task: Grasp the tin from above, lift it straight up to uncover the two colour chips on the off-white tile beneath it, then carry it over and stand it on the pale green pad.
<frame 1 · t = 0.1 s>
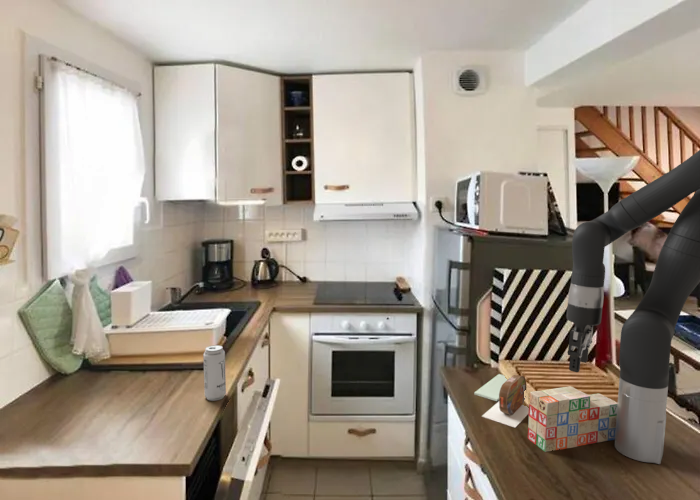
hand: (578, 366, 108), 17 cm above the countertop, tool pointing down, fingers open, 8 cm apart
tin: (512, 408, 122), resting on code tile
code tile: (512, 408, 122), on the countertop
stack of blocks: (572, 440, 107), on the countertop
energy drink can: (215, 397, 128), on the countertop
pad: (497, 387, 136), on the countertop
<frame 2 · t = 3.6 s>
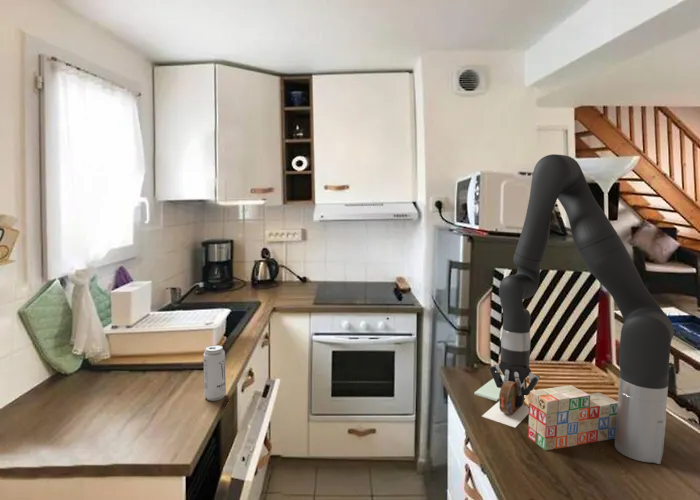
hand: (512, 404, 122), 1 cm above the countertop, tool pointing down, fingers closed on tin, 2 cm apart
tin: (512, 408, 122), resting on code tile, touching gripper
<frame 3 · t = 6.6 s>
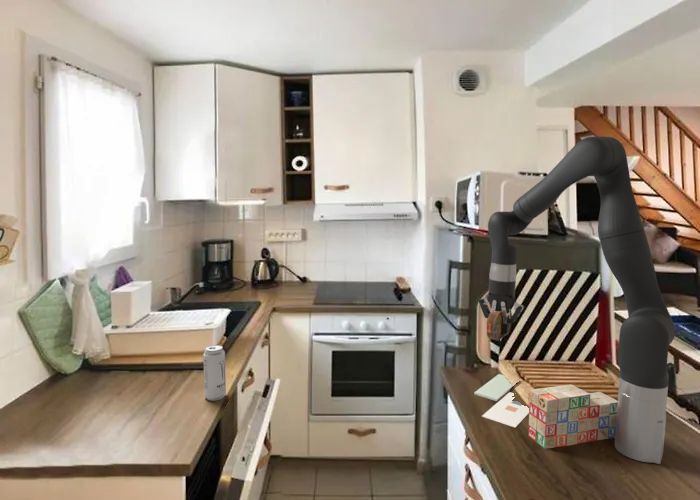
hand: (499, 333, 132), 18 cm above the countertop, tool pointing down, fingers closed on tin, 2 cm apart
tin: (498, 337, 133), point 17 cm above the countertop, touching gripper
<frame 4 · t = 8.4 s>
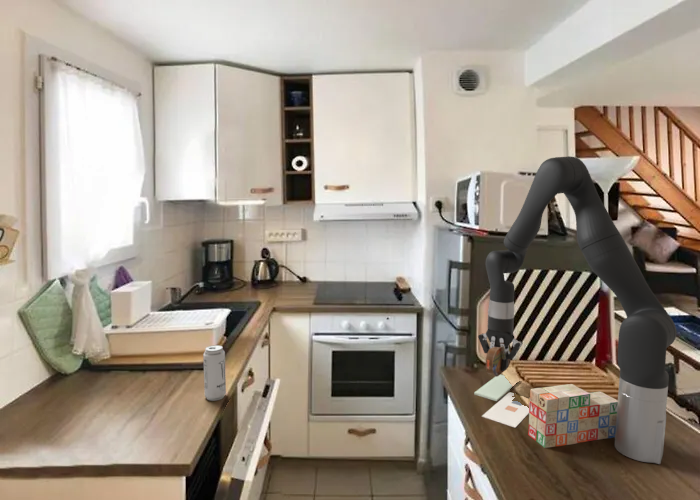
hand: (498, 368, 135), 6 cm above the countertop, tool pointing down, fingers closed on tin, 2 cm apart
tin: (497, 372, 135), point 5 cm above the countertop, touching gripper
when the fingers open (2 cm above the countertop, at t = 9.7 s): tin stays where it is, resting on pad.
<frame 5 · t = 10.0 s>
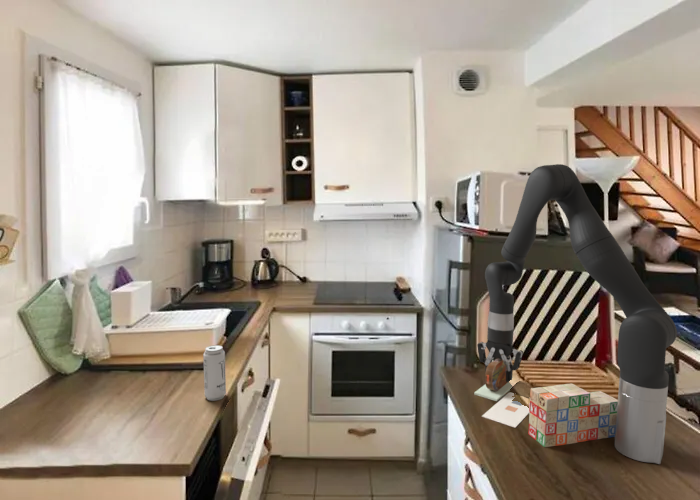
hand: (498, 378, 136), 3 cm above the countertop, tool pointing down, fingers open, 5 cm apart
tin: (497, 386, 136), resting on pad
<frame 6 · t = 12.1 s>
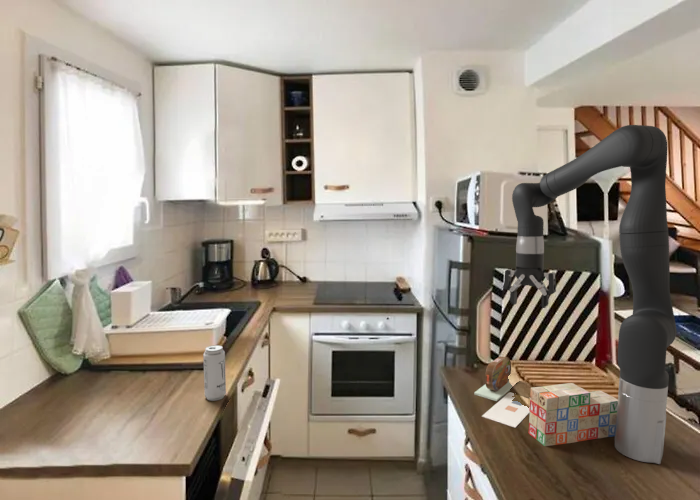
hand: (528, 305, 129), 27 cm above the countertop, tool pointing down, fingers open, 8 cm apart
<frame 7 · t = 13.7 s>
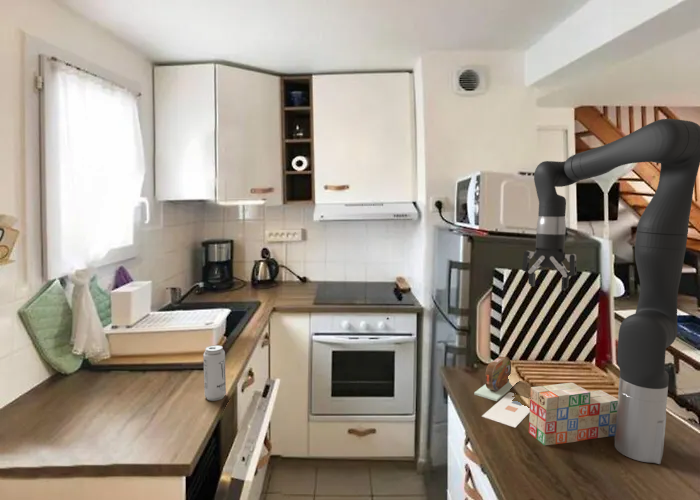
hand: (547, 288, 126), 33 cm above the countertop, tool pointing down, fingers open, 8 cm apart
at the end: tin 0.1 cm from the pad (horizontally); tin tilted 0°; the gripper is holding nothing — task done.
